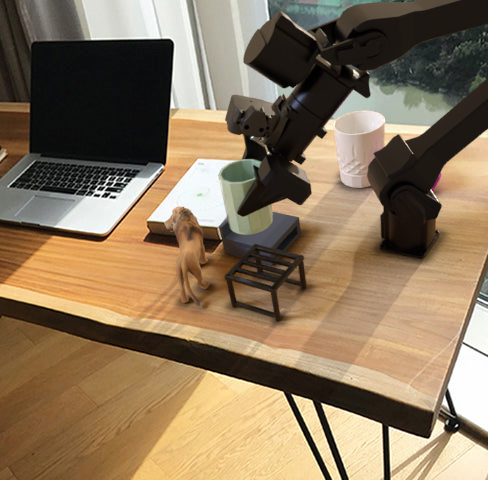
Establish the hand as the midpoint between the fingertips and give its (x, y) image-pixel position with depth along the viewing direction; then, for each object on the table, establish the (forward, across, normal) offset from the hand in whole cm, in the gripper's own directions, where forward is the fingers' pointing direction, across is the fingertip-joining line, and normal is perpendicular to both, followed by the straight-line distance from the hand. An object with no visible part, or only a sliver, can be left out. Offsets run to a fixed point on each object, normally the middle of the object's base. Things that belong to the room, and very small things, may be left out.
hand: (236, 201), depth 91 cm
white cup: (-6, -20, +24) cm, 32 cm away
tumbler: (+2, 0, +4) cm, 4 cm away
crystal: (-11, -13, +30) cm, 34 cm away
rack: (+8, +6, +10) cm, 14 cm away
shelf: (+7, -7, +11) cm, 15 cm away
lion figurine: (+15, -3, +3) cm, 16 cm away
